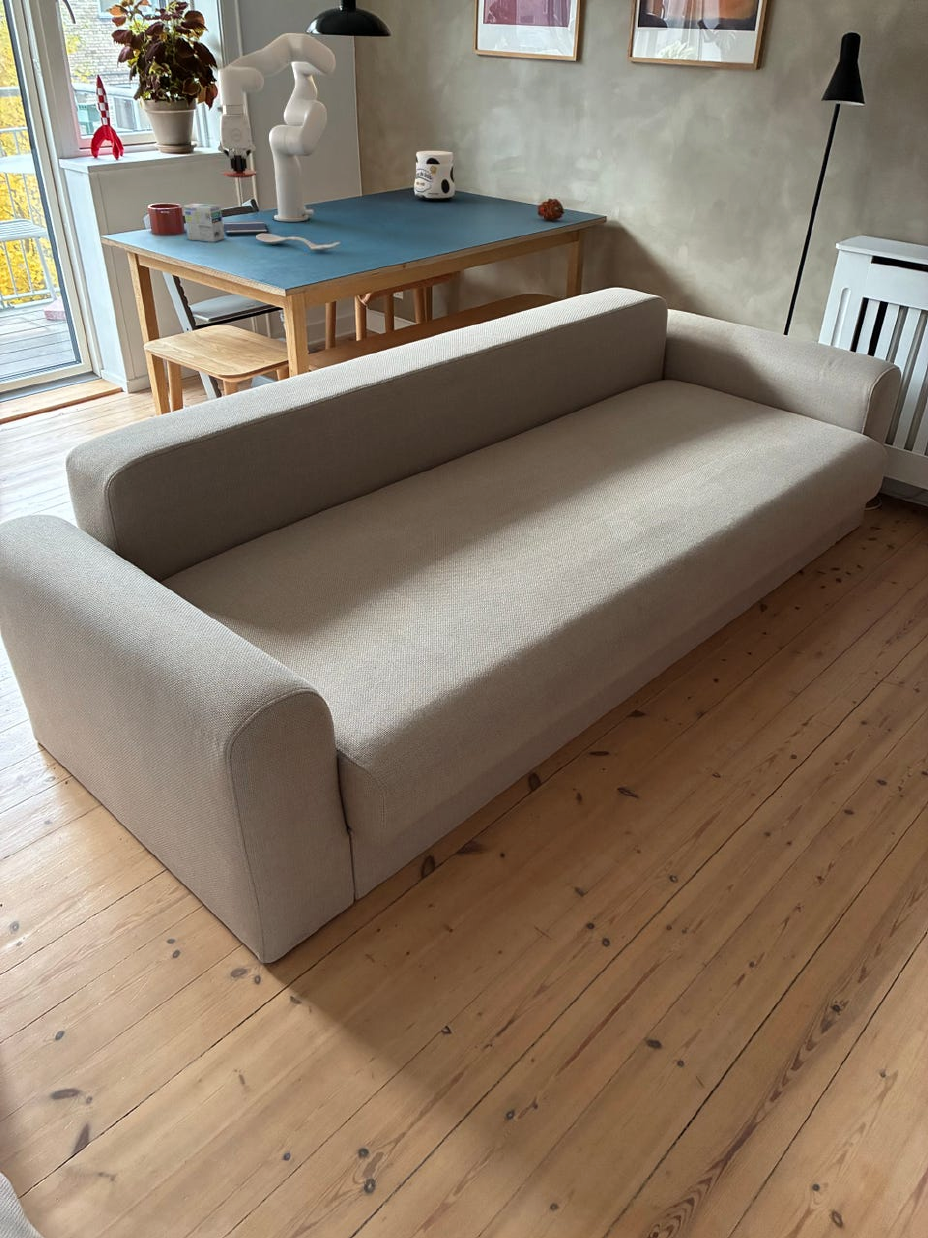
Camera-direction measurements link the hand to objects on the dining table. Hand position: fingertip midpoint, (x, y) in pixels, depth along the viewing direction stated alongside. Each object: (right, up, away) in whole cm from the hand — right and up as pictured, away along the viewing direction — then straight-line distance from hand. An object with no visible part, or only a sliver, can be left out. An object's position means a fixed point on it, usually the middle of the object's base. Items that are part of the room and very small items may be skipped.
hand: (239, 170), depth 327 cm
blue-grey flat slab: (0, -16, +10) cm, 19 cm away
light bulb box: (-10, -26, -5) cm, 28 cm away
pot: (-26, -19, +5) cm, 33 cm away
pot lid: (0, -1, +1) cm, 1 cm away
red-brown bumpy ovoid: (+111, -1, +38) cm, 117 cm away
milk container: (+65, +23, +76) cm, 103 cm away
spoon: (+22, -33, -14) cm, 42 cm away
